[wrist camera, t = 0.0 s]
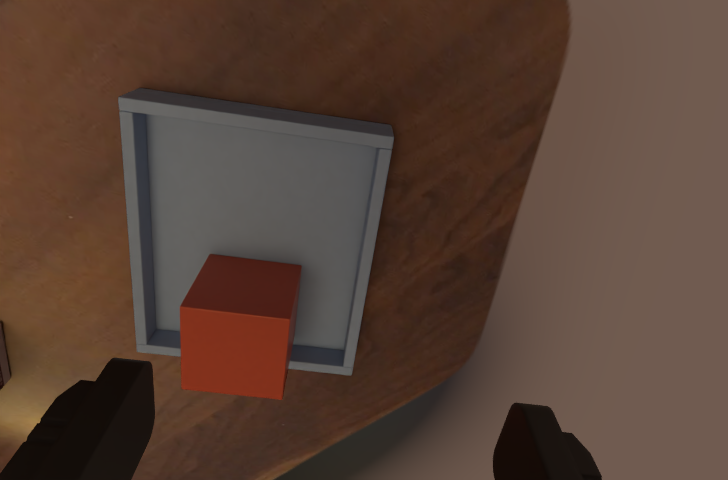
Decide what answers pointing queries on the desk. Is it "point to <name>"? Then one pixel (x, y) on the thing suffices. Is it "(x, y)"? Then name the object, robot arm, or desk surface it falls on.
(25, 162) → the desk surface
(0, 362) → the supplement box
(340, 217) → the gray tray
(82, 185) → the desk surface
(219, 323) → the rust cube
